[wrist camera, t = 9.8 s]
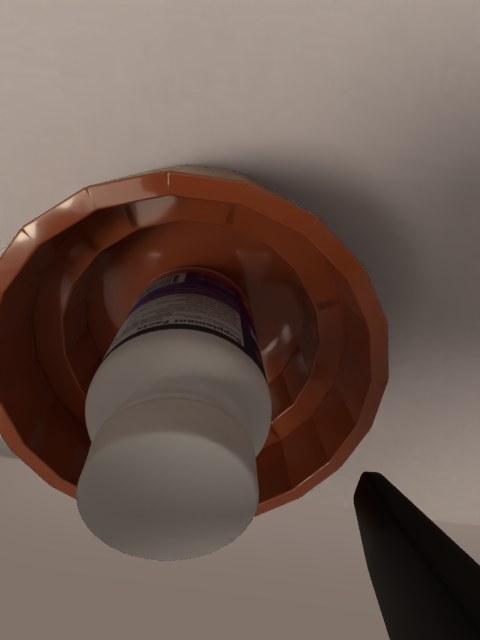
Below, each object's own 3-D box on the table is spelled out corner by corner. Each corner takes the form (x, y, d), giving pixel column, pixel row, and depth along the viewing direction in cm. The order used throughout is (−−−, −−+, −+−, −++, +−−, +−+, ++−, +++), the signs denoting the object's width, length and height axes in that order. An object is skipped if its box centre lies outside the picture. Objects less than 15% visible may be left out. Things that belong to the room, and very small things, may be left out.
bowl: (304, 432, 21) (335, 531, 15) (63, 416, 19) (3, 519, 14) (367, 189, 15) (450, 209, 10) (40, 143, 14) (-74, 137, 9)
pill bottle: (237, 378, 18) (255, 589, 9) (128, 359, 17) (35, 570, 9) (266, 277, 16) (324, 429, 7) (143, 250, 15) (41, 383, 6)
